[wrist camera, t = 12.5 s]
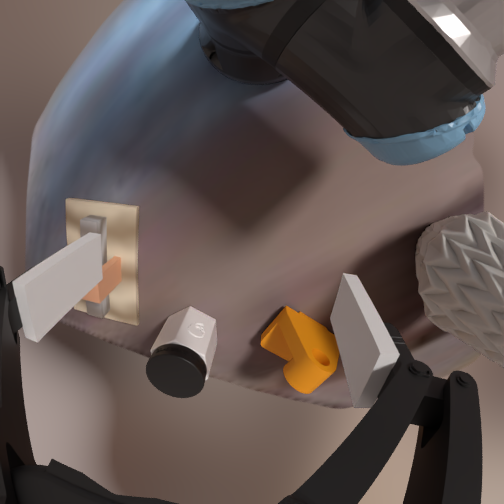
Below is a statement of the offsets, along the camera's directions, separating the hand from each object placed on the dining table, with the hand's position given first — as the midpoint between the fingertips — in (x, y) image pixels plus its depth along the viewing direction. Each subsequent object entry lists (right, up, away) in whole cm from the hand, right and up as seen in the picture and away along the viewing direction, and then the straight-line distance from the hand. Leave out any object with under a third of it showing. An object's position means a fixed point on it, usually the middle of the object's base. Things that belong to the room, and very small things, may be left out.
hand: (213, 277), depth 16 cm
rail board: (-22, 0, +30) cm, 37 cm away
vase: (+31, +2, +26) cm, 40 cm away
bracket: (+9, -12, +33) cm, 36 cm away
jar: (-8, -11, +33) cm, 36 cm away
